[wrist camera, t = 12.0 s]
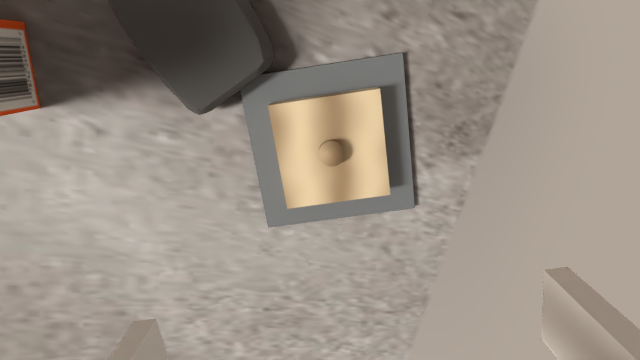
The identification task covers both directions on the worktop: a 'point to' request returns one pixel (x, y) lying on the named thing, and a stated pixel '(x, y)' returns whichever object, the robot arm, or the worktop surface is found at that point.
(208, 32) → the spray bottle
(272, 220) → the mat
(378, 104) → the lid
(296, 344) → the worktop surface
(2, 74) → the orange cereal box
